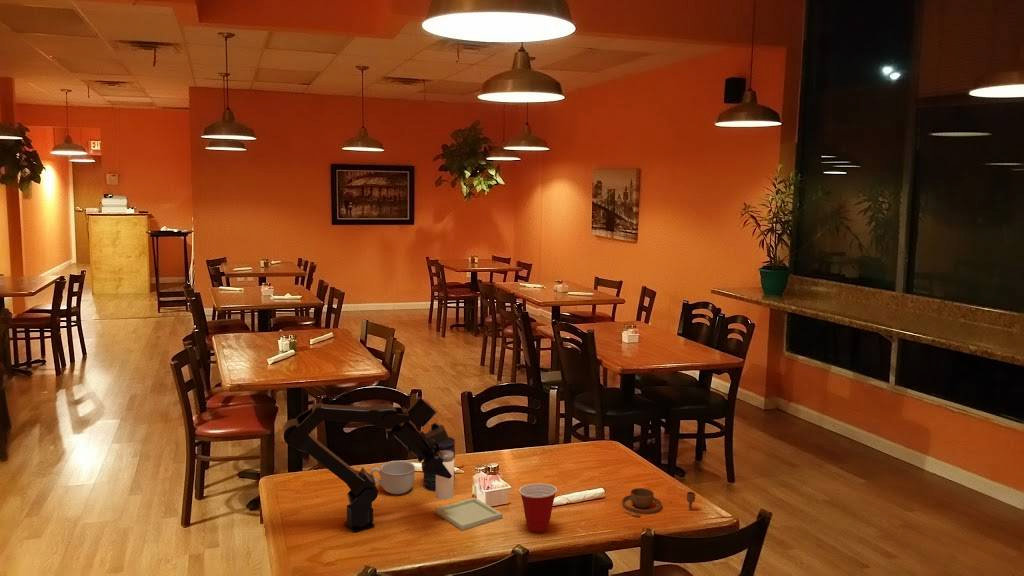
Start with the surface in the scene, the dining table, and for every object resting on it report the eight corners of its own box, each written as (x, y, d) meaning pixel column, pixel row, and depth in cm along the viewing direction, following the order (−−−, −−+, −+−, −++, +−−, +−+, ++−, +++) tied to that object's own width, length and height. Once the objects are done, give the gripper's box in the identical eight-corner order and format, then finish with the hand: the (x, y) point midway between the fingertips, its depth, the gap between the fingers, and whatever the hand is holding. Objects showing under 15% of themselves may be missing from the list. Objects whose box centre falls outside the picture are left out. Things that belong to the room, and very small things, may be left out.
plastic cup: (533, 517, 227) (534, 477, 225) (563, 528, 220) (565, 487, 218) (509, 529, 218) (510, 488, 217) (540, 541, 212) (541, 499, 210)
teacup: (418, 485, 248) (418, 461, 247) (410, 498, 238) (410, 473, 237) (375, 482, 250) (375, 458, 249) (366, 496, 239) (366, 471, 238)
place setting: (638, 493, 247) (639, 475, 246) (697, 511, 235) (698, 492, 234) (610, 510, 234) (610, 492, 233) (670, 530, 221) (671, 510, 220)
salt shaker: (446, 501, 220) (446, 457, 218) (431, 496, 223) (432, 453, 221) (457, 495, 224) (458, 452, 223) (442, 490, 227) (443, 448, 225)
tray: (462, 530, 217) (462, 525, 217) (435, 513, 228) (435, 508, 228) (502, 518, 225) (502, 513, 225) (474, 502, 236) (474, 497, 236)
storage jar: (460, 484, 250) (461, 439, 248) (442, 494, 242) (443, 448, 240) (435, 477, 255) (436, 433, 253) (417, 487, 247) (417, 442, 245)
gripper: (435, 428, 211) (475, 465, 215) (428, 408, 229) (464, 443, 233) (406, 457, 210) (446, 494, 214) (401, 435, 228) (437, 469, 232)
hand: (449, 473), depth 223 cm, fingers closed on salt shaker, 5 cm apart
